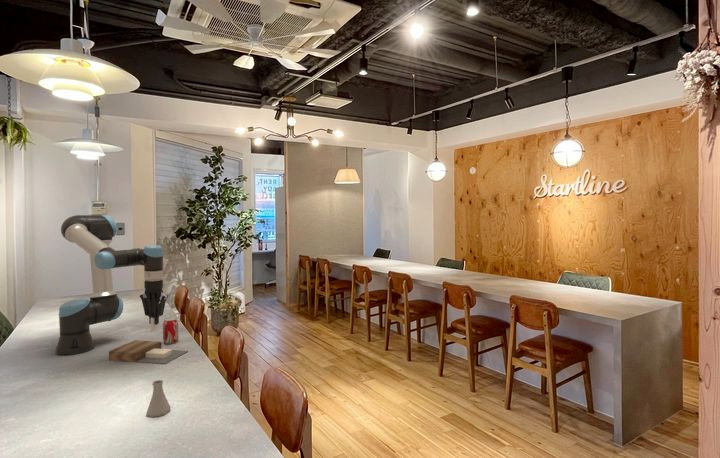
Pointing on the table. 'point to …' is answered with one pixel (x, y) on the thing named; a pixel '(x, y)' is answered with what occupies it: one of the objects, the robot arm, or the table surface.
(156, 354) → the tile
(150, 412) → the flask
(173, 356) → the mat
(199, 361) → the table surface
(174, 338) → the soda can
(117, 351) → the deck
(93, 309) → the robot arm
